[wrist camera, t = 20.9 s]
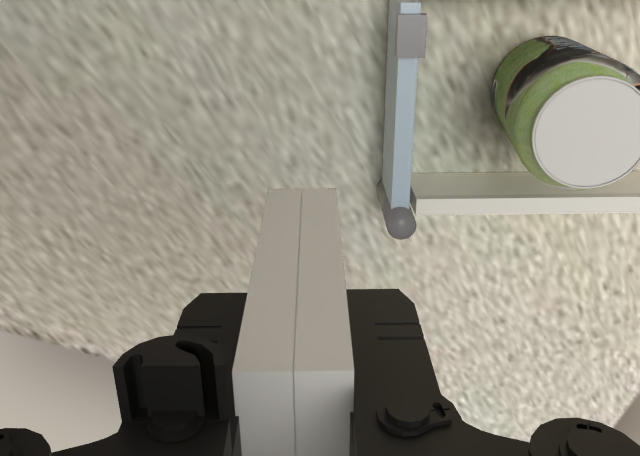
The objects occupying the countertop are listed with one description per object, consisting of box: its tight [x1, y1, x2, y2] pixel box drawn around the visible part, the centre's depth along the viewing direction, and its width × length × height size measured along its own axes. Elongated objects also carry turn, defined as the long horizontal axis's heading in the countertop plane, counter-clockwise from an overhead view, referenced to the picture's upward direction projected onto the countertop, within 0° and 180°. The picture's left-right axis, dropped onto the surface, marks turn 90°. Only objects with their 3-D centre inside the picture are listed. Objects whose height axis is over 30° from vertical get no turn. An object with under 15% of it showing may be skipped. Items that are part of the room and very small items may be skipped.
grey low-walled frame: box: [410, 171, 640, 216], centre depth 35 cm, size 17×13×5 cm
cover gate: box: [377, 0, 428, 239], centre depth 34 cm, size 12×2×6 cm, turn 0°
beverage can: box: [492, 36, 640, 191], centre depth 31 cm, size 6×7×12 cm
